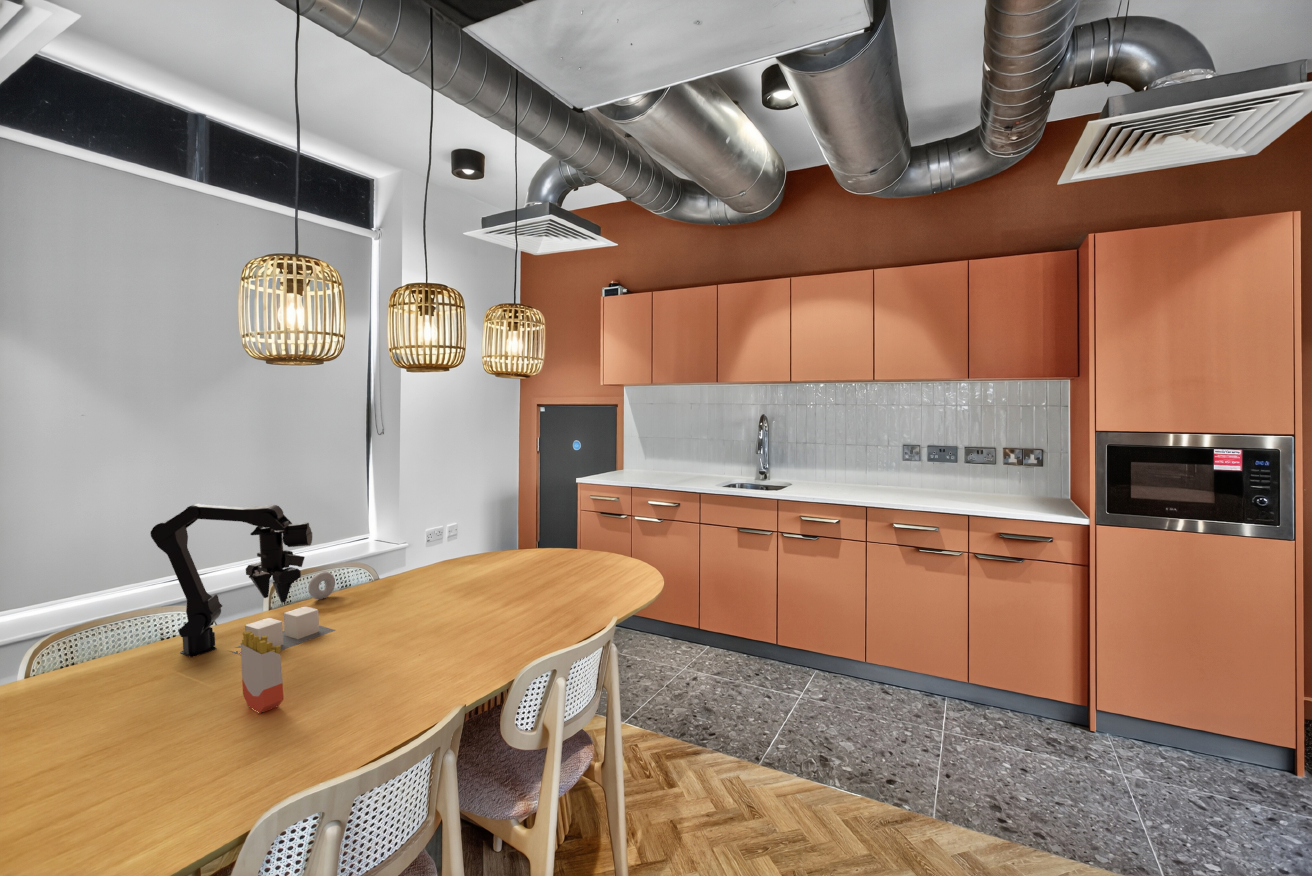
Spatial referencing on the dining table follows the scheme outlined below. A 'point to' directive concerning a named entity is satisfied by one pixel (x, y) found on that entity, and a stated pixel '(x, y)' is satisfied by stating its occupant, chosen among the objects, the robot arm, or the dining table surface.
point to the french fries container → (261, 672)
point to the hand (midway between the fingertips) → (274, 599)
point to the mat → (292, 641)
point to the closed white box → (301, 622)
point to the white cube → (267, 630)
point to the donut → (315, 583)
